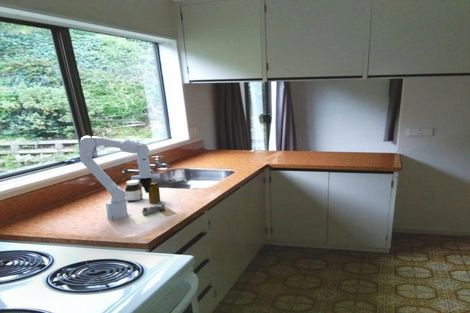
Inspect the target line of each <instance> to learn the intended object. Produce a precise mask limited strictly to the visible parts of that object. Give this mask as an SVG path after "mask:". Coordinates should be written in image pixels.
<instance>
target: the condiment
mask: <svg viewBox="0 0 470 313" xmlns="http://www.w3.org/2000/svg"><path fill="white" fill-rule="evenodd" d="M147 195H148V201H149V202H148V203H149V204H151V205H155V204H160V203H161V193H160V188H159V183H158V182H156V181H155V182H151V184H150V190H149V193H147Z"/></svg>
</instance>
